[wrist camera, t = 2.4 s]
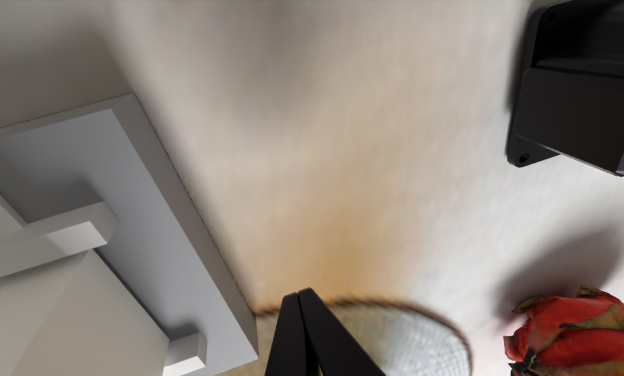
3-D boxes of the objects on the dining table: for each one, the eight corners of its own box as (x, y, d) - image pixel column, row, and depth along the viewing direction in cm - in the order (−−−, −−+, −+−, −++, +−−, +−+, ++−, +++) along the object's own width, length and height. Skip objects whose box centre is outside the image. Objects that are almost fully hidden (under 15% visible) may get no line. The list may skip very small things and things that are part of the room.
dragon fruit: (574, 297, 26) (453, 287, 24) (709, 283, 18) (550, 266, 16) (615, 417, 22) (475, 417, 20) (806, 461, 15) (614, 467, 13)
